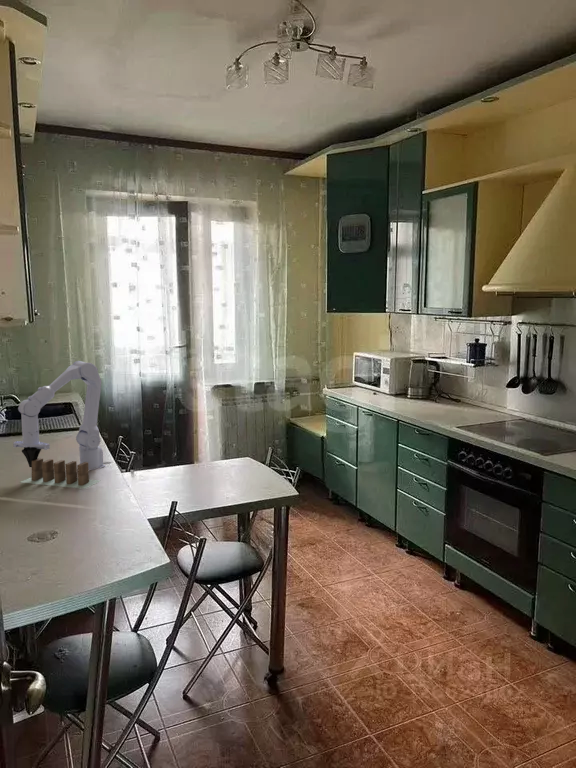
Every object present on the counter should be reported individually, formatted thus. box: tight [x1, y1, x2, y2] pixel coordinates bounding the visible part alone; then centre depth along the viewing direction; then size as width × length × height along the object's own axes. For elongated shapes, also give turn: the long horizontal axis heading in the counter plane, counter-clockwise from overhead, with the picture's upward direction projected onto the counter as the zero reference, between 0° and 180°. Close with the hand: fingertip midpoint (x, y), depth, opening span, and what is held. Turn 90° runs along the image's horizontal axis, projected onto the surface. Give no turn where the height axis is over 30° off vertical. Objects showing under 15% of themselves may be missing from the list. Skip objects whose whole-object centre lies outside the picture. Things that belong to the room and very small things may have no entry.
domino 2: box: [42, 458, 55, 482], centre depth 219 cm, size 4×2×8 cm, turn 165°
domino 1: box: [31, 457, 44, 481], centre depth 220 cm, size 4×2×8 cm, turn 165°
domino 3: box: [53, 459, 66, 483], centre depth 218 cm, size 4×2×8 cm, turn 165°
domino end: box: [77, 462, 90, 486], centre depth 216 cm, size 4×2×8 cm, turn 165°
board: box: [20, 476, 101, 490], centre depth 219 cm, size 10×28×1 cm, turn 75°
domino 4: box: [65, 460, 78, 484], centre depth 217 cm, size 4×2×8 cm, turn 165°
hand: (32, 466), depth 221 cm, fingers closed
